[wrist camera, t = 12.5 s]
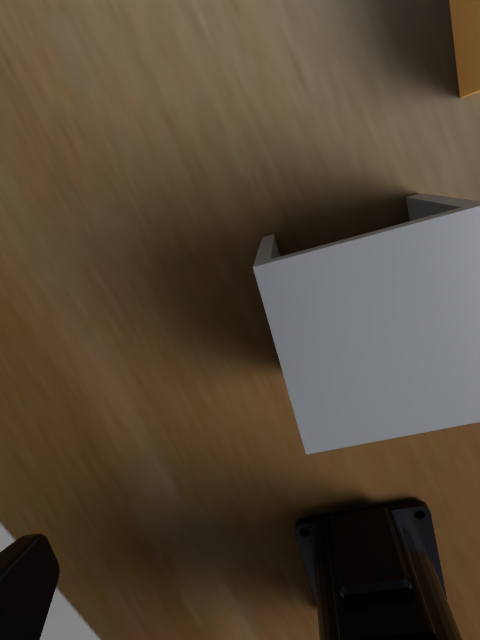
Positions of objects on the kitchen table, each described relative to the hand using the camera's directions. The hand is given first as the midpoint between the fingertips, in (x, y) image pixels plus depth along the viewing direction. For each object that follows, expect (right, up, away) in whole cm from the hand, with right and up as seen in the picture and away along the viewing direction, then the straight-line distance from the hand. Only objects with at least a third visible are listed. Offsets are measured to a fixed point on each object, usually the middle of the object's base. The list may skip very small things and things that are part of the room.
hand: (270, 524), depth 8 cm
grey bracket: (+4, +5, +10) cm, 12 cm away
